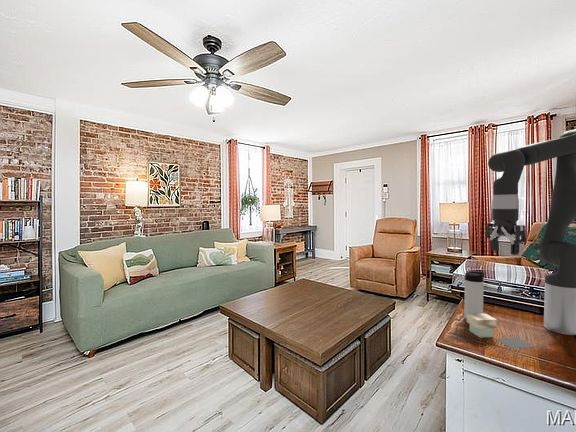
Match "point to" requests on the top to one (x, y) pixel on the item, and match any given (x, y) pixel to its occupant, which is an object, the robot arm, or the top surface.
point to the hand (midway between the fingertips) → (504, 252)
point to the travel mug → (473, 293)
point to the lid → (481, 321)
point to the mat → (514, 342)
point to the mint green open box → (481, 332)
